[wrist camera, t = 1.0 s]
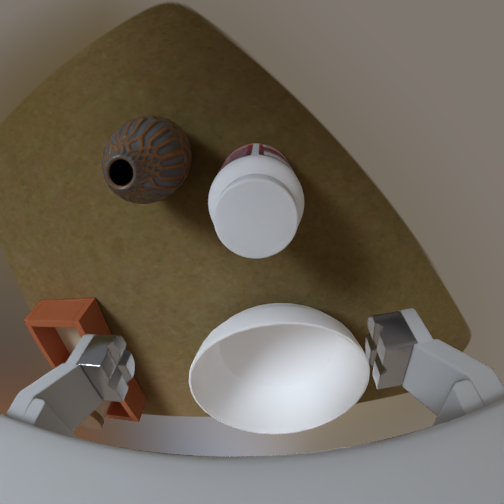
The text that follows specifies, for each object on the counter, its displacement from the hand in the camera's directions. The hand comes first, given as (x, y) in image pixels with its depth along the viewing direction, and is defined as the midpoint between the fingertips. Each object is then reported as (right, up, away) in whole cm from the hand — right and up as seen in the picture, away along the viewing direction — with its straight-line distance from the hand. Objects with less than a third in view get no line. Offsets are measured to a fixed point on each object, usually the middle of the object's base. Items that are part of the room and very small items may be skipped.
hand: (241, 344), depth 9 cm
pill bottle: (+1, +10, +17) cm, 20 cm away
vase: (-8, +12, +16) cm, 22 cm away
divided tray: (-22, -11, +28) cm, 37 cm away
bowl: (+3, -8, +25) cm, 27 cm away
